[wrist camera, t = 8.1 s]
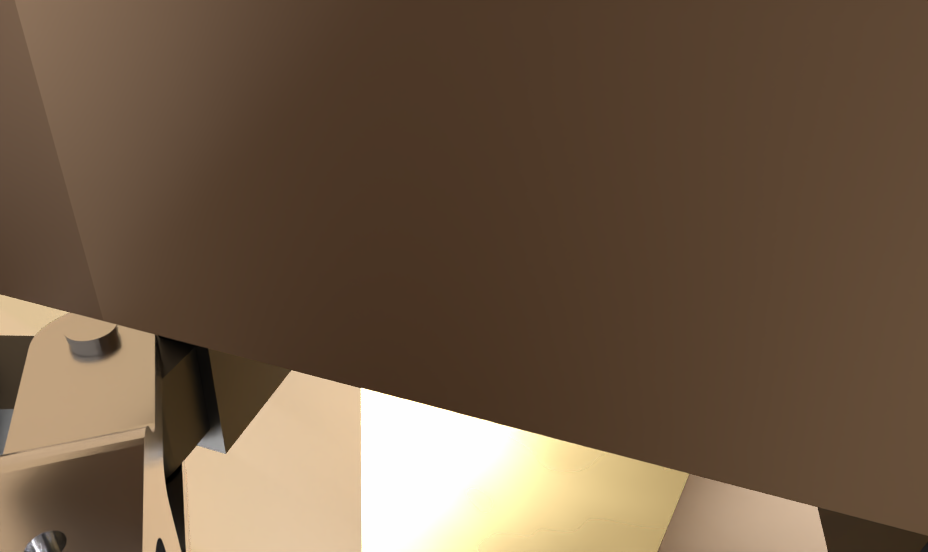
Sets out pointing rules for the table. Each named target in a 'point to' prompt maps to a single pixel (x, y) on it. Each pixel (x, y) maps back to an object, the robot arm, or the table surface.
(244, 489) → the table surface
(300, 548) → the table surface
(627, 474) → the rod
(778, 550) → the table surface
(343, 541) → the table surface
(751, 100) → the socket
